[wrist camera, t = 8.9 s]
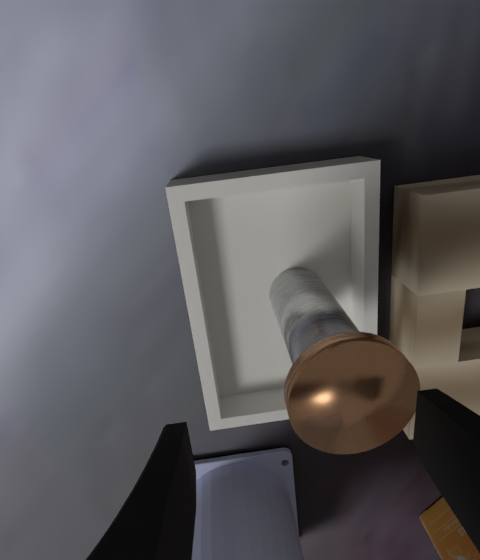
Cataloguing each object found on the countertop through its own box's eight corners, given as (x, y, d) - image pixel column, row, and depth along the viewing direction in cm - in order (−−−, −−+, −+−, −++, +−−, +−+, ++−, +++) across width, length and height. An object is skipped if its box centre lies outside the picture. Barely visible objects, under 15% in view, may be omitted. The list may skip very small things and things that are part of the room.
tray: (359, 379, 24) (375, 406, 22) (209, 401, 24) (209, 430, 22) (359, 155, 19) (380, 160, 17) (170, 180, 19) (165, 187, 17)
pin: (337, 322, 22) (417, 443, 14) (261, 334, 22) (293, 463, 14) (334, 248, 20) (423, 334, 12) (251, 261, 20) (282, 356, 12)
